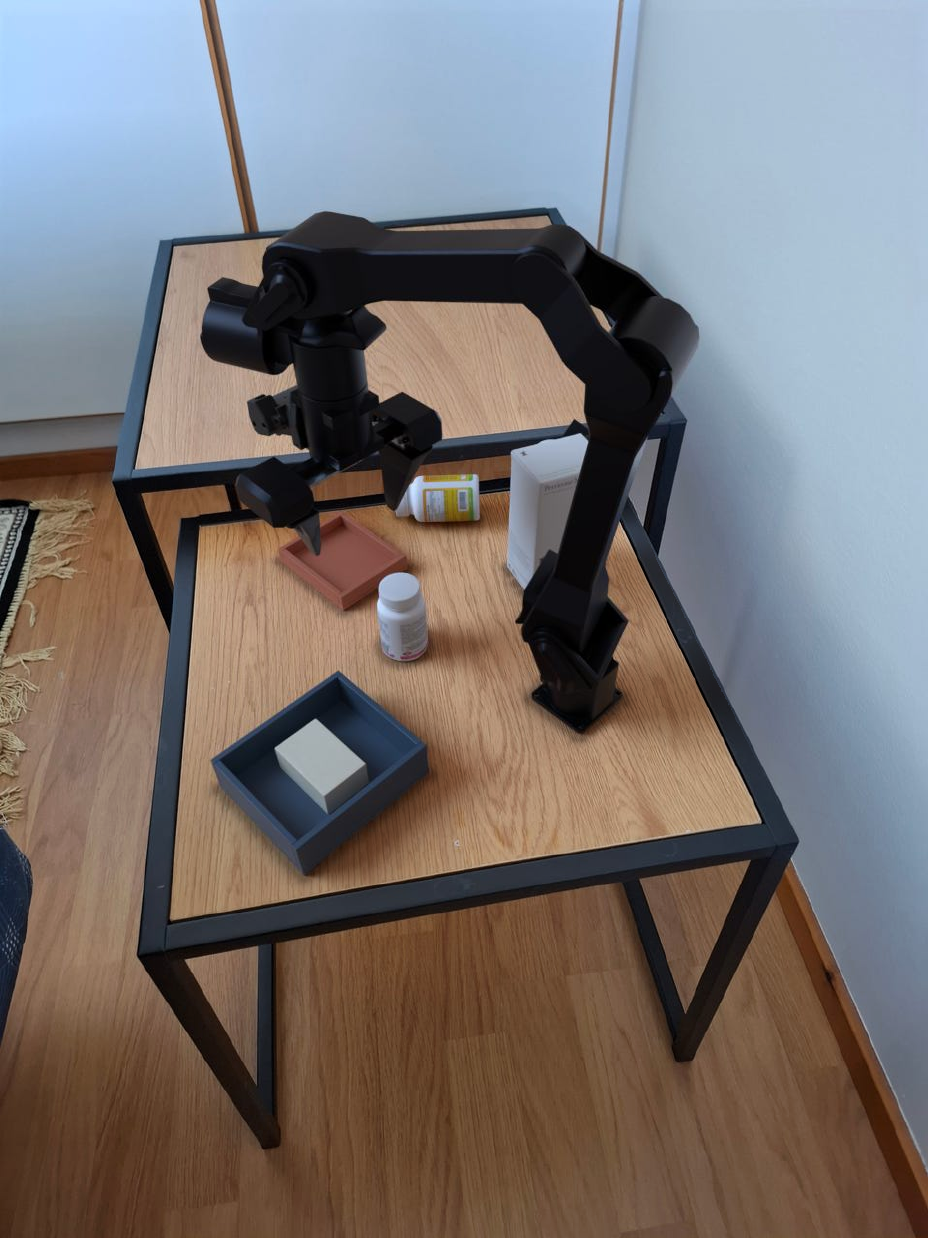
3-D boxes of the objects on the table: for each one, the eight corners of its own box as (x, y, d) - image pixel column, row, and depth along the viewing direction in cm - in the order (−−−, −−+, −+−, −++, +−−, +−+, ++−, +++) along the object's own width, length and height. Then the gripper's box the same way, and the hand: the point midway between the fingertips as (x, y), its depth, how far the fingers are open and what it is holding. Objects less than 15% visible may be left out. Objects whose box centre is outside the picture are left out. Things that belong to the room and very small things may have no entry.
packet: (369, 783, 77) (366, 763, 75) (328, 815, 75) (324, 796, 73) (320, 737, 81) (315, 717, 79) (279, 767, 79) (274, 748, 76)
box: (429, 773, 79) (427, 744, 76) (304, 876, 72) (296, 850, 69) (343, 698, 85) (338, 669, 82) (220, 787, 78) (209, 759, 75)
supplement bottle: (479, 491, 105) (399, 493, 106) (478, 464, 101) (394, 466, 101) (480, 529, 103) (398, 531, 103) (479, 503, 98) (393, 506, 98)
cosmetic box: (530, 602, 94) (537, 486, 82) (503, 565, 98) (506, 449, 87) (598, 580, 96) (614, 463, 85) (569, 544, 100) (580, 428, 89)
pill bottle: (433, 632, 91) (429, 573, 85) (421, 666, 88) (417, 607, 82) (389, 625, 92) (382, 566, 86) (376, 658, 88) (368, 599, 82)
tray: (407, 569, 98) (406, 555, 96) (343, 611, 93) (341, 597, 92) (343, 523, 103) (341, 510, 102) (280, 561, 99) (277, 548, 97)
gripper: (360, 311, 79) (377, 453, 91) (180, 390, 71) (223, 536, 82) (442, 354, 74) (449, 501, 85) (257, 445, 65) (292, 595, 76)
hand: (354, 530), depth 82 cm, fingers open, 9 cm apart
